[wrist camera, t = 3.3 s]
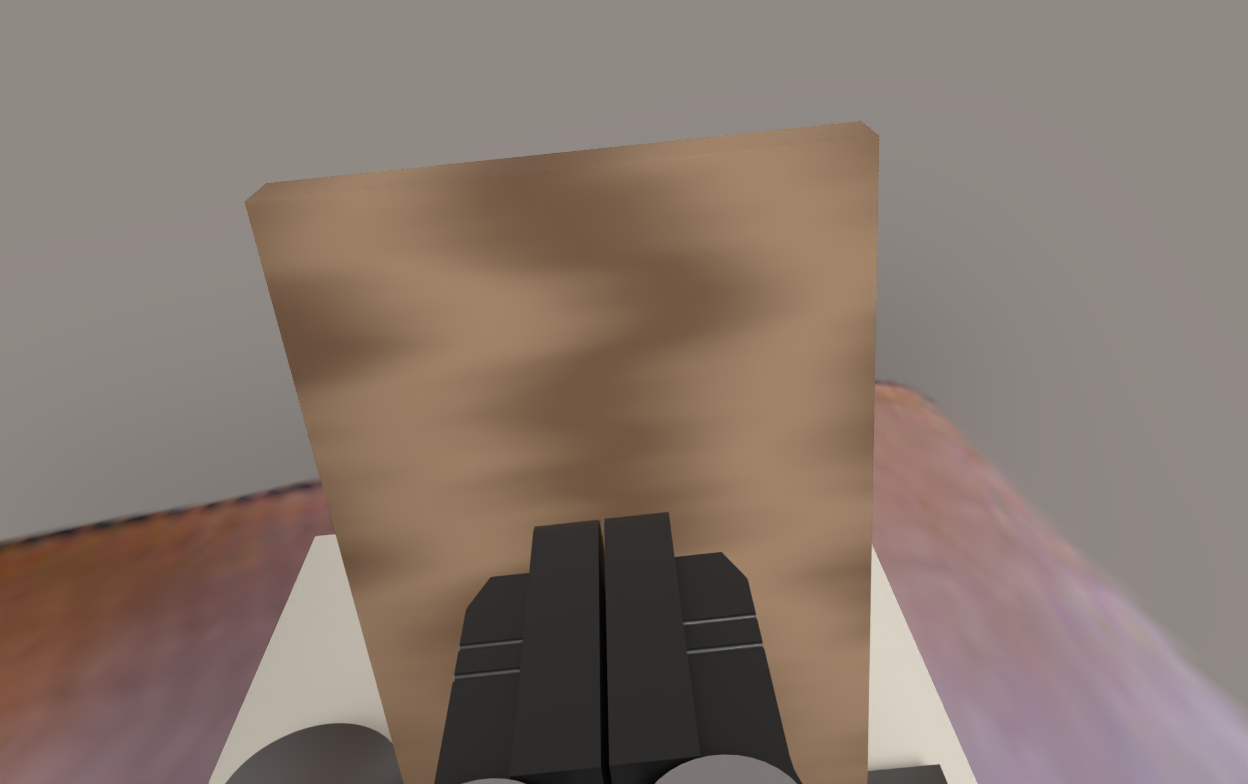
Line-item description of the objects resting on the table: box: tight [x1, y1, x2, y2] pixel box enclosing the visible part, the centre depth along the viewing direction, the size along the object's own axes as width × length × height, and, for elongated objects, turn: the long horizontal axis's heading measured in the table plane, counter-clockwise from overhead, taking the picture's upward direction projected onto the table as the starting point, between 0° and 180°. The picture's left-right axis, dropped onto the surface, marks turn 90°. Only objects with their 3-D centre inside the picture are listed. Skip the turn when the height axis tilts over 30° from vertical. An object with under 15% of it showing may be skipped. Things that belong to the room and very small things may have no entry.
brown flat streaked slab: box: [225, 121, 948, 784], centre depth 20 cm, size 17×4×16 cm, turn 92°
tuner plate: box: [208, 534, 977, 784], centre depth 29 cm, size 20×18×2 cm
